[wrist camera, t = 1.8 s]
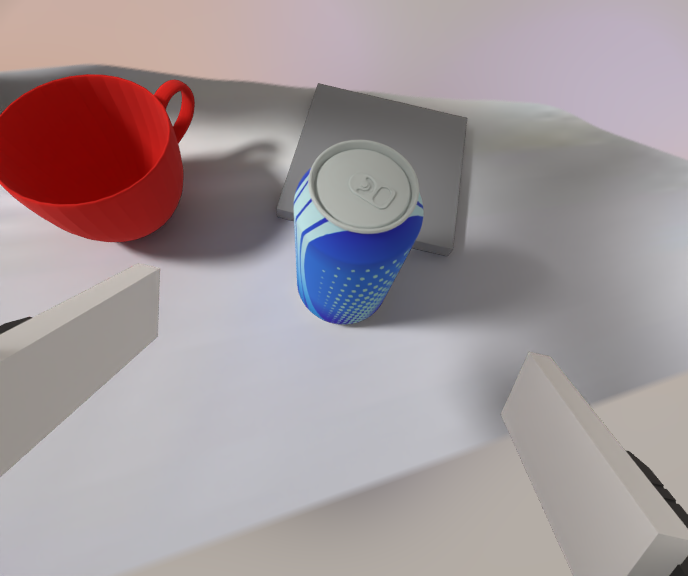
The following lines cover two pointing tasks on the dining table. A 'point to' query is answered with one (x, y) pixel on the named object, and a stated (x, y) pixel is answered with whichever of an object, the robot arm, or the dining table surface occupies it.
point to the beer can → (354, 228)
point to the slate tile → (399, 134)
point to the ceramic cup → (96, 155)
